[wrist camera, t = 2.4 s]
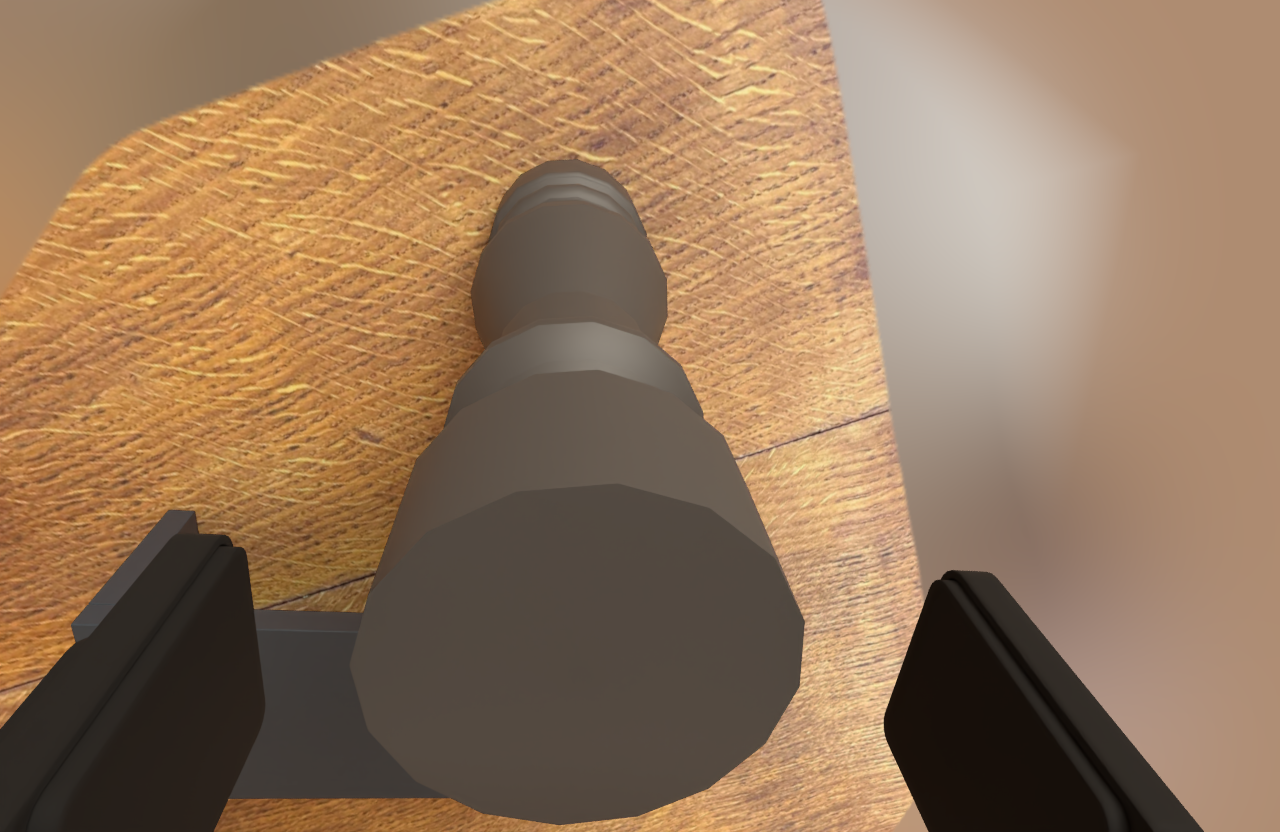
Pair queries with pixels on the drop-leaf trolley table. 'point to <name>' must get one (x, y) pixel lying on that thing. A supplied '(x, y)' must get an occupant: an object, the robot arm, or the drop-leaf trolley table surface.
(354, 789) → the shelf
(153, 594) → the robot arm
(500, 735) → the candle holder
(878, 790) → the drop-leaf trolley table surface
